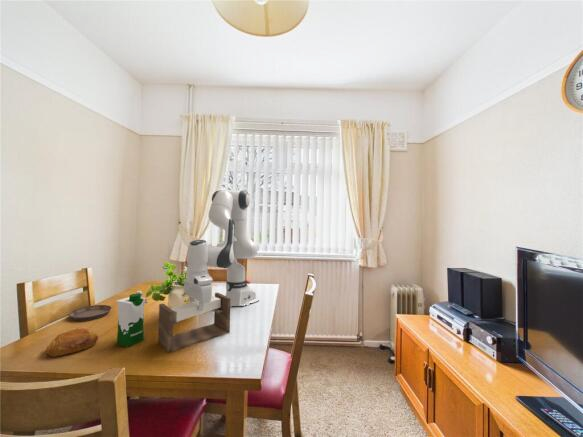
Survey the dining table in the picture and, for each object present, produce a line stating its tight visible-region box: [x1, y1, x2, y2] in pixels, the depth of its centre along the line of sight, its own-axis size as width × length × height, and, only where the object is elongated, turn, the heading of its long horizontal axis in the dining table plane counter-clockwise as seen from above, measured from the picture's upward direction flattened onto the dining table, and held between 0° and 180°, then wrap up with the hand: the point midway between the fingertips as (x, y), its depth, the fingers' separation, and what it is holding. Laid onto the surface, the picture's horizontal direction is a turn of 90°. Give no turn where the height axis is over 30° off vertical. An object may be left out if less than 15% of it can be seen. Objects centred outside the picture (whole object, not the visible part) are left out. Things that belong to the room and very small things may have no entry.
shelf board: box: [169, 295, 221, 323], centre depth 113 cm, size 22×6×4 cm, turn 145°
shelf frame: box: [157, 292, 231, 354], centre depth 112 cm, size 27×12×16 cm, turn 135°
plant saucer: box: [68, 304, 112, 322], centre depth 134 cm, size 18×18×3 cm
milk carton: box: [116, 293, 146, 348], centre depth 107 cm, size 9×9×20 cm
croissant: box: [45, 328, 99, 358], centre depth 102 cm, size 14×16×8 cm
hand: (196, 308), depth 113 cm, fingers closed on shelf board, 6 cm apart
